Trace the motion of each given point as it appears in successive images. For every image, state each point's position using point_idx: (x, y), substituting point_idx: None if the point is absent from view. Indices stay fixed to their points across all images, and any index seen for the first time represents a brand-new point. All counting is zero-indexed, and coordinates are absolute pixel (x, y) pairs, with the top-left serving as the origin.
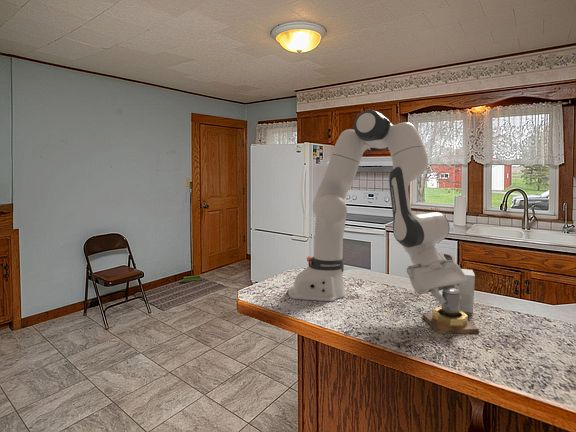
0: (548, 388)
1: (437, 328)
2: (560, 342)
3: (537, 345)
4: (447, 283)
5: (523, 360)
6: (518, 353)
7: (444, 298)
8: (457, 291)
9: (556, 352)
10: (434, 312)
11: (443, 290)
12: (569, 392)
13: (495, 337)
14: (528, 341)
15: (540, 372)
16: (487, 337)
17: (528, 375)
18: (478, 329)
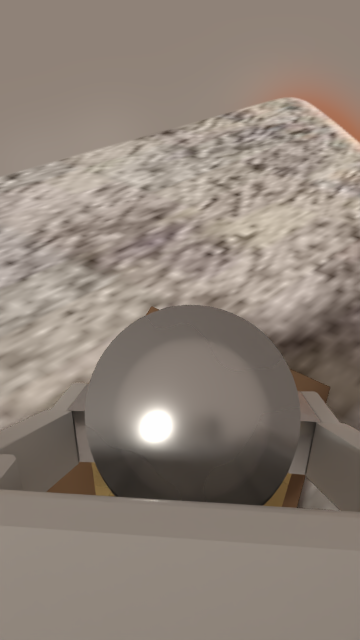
0: (275, 121)
1: (325, 399)
2: (14, 187)
3: (86, 199)
4: (144, 522)
5: (210, 177)
6: (184, 196)
7: (302, 404)
8: (171, 323)
9: (92, 169)
10: (281, 499)
11: (286, 465)
12: (251, 108)
13: (136, 270)
14: (78, 219)
15: (229, 145)
16: (161, 281)
17: (267, 148)
18: (153, 308)
